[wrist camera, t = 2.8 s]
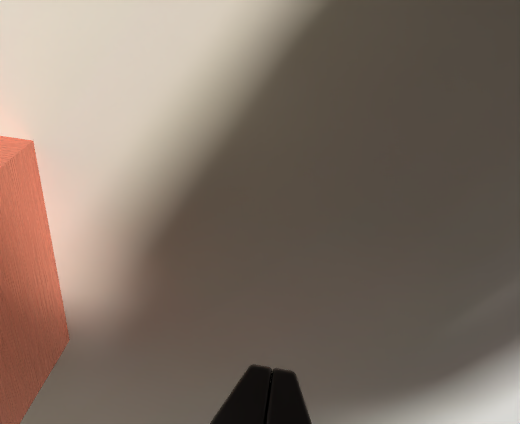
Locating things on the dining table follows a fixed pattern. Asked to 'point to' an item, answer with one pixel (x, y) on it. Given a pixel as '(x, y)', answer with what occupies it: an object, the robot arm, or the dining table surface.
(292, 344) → the dining table surface
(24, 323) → the pin
